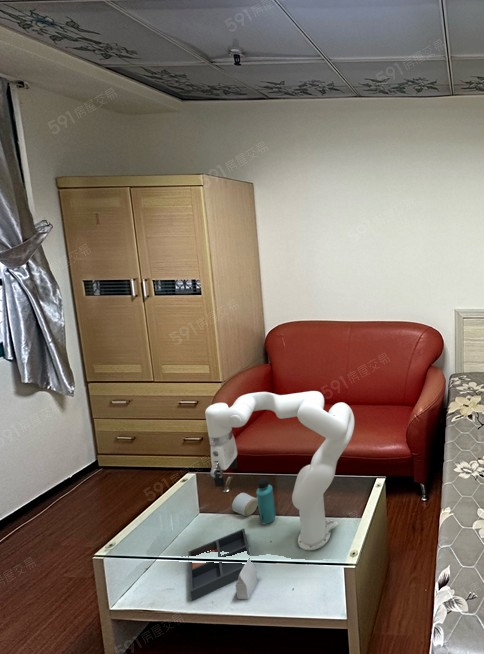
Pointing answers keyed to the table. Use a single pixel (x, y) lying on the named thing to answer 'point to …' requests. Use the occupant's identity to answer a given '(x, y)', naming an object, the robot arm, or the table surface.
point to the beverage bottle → (265, 501)
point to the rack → (216, 565)
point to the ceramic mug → (244, 504)
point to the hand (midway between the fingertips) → (226, 476)
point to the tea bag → (246, 580)
